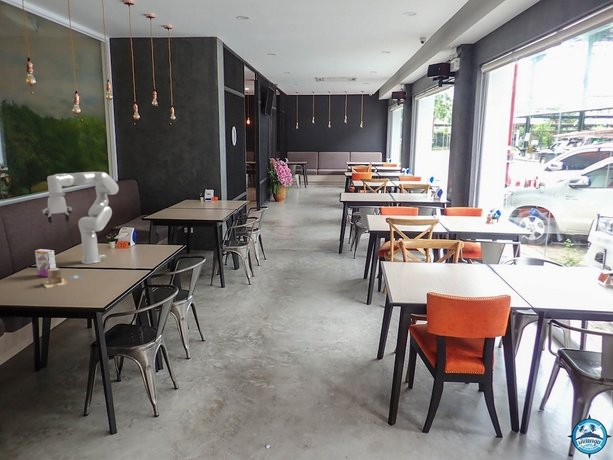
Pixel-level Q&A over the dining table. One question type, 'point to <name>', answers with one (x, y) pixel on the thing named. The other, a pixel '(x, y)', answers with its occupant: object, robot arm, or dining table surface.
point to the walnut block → (54, 276)
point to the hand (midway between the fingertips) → (58, 221)
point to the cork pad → (54, 284)
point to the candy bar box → (44, 261)
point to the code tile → (75, 276)
